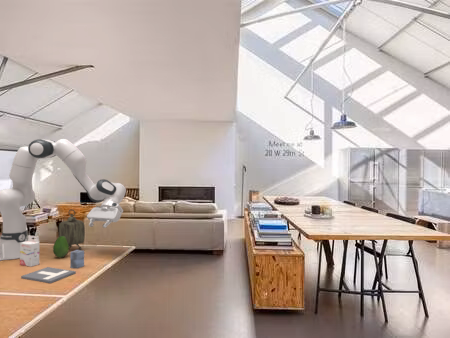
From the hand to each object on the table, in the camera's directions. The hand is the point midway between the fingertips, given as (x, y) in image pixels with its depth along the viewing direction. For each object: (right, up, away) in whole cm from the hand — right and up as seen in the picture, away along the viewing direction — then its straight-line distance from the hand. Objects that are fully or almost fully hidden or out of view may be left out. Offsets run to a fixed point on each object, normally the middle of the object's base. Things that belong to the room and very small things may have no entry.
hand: (97, 226), depth 172 cm
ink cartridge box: (-31, -18, -10) cm, 38 cm away
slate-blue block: (-5, -18, -13) cm, 23 cm away
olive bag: (-25, -18, +20) cm, 37 cm away
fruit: (-22, -18, +4) cm, 29 cm away
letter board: (-12, -18, -27) cm, 34 cm away
